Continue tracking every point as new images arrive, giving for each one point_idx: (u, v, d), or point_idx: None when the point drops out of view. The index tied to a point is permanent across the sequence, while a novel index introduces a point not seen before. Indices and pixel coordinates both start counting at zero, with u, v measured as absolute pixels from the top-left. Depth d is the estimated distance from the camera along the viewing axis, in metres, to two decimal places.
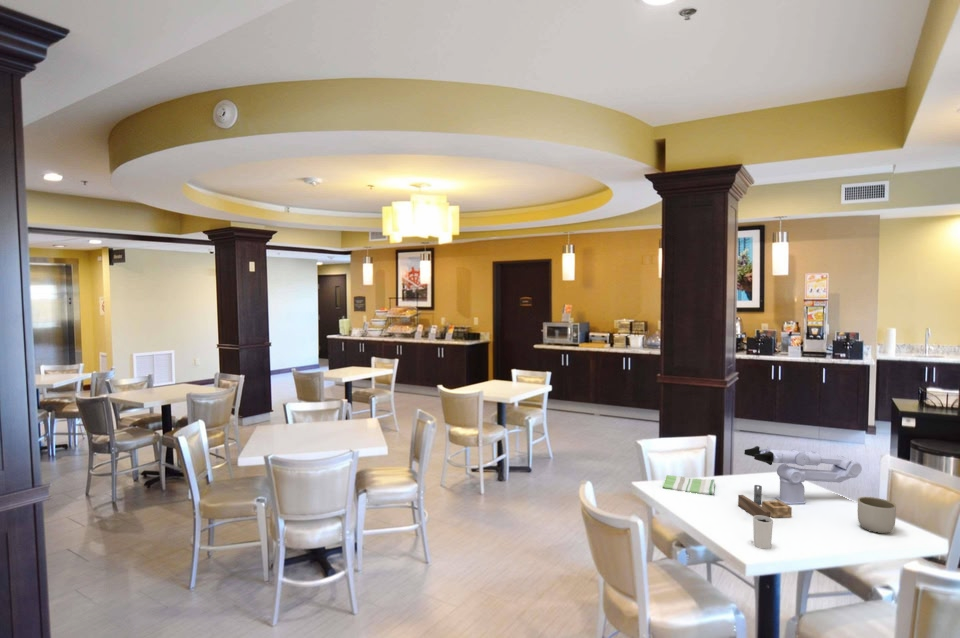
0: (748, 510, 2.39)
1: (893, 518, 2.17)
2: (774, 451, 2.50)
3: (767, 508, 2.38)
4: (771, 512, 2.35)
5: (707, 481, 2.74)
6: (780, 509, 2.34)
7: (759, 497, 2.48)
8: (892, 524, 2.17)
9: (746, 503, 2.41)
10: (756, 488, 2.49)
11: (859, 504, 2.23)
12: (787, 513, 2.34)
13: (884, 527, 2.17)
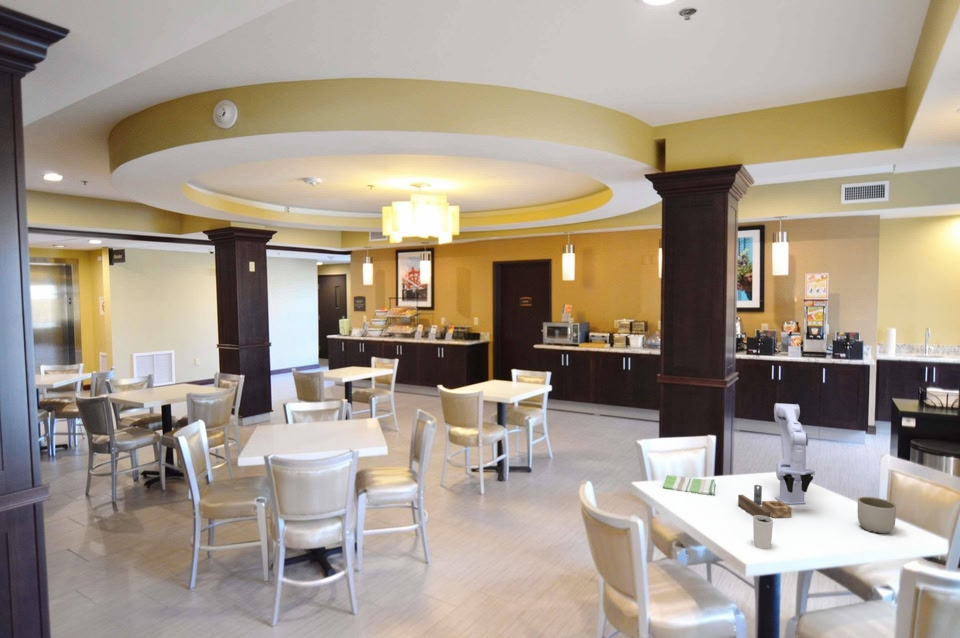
0: (748, 510, 2.39)
1: (893, 518, 2.17)
2: (804, 468, 2.36)
3: (767, 508, 2.38)
4: (771, 512, 2.35)
5: (707, 481, 2.73)
6: (780, 509, 2.34)
7: (759, 497, 2.48)
8: (892, 524, 2.17)
9: (746, 503, 2.41)
10: (756, 488, 2.49)
11: (859, 504, 2.23)
12: (787, 513, 2.34)
13: (884, 527, 2.17)
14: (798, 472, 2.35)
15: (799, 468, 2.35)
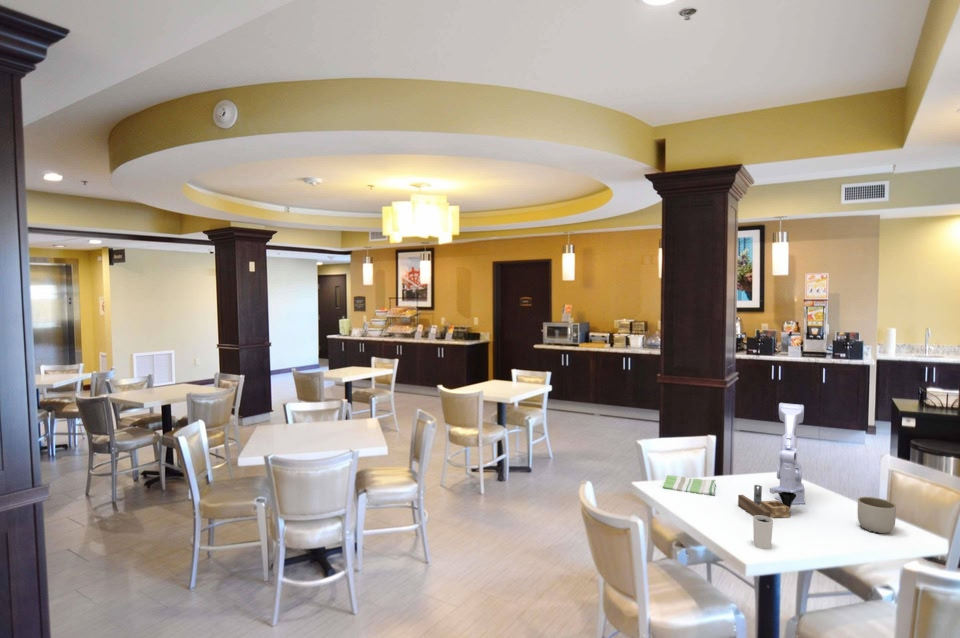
0: (748, 510, 2.39)
1: (893, 518, 2.17)
2: (794, 486, 2.35)
3: (765, 508, 2.37)
4: None
5: (708, 481, 2.73)
6: (778, 509, 2.34)
7: (759, 497, 2.48)
8: (892, 524, 2.17)
9: (746, 503, 2.41)
10: (756, 488, 2.49)
11: (859, 504, 2.23)
12: (785, 513, 2.34)
13: (884, 527, 2.17)
14: (787, 490, 2.35)
15: (788, 486, 2.35)
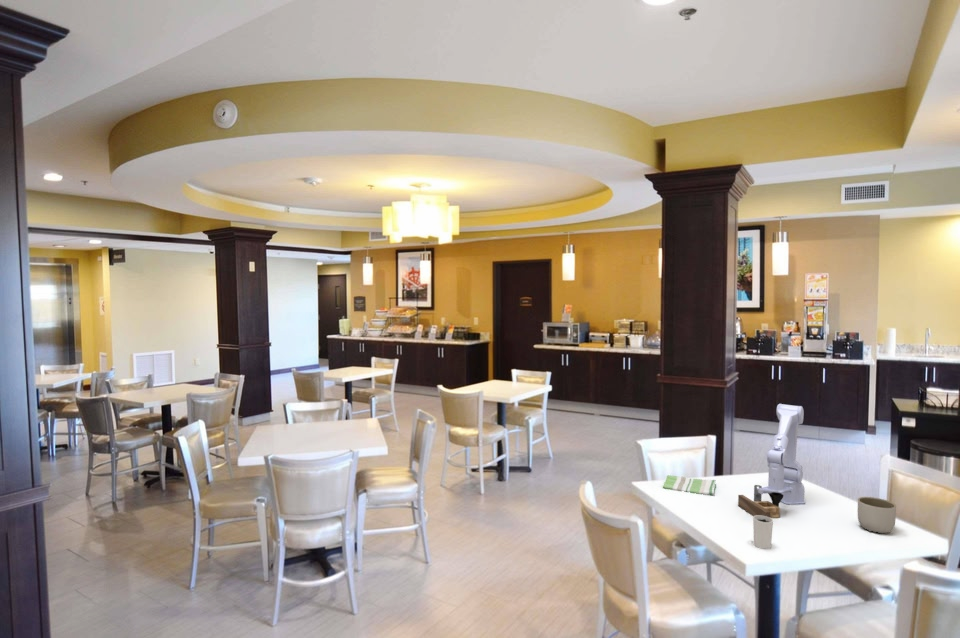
0: (748, 510, 2.39)
1: (893, 518, 2.17)
2: (782, 486, 2.35)
3: None
4: None
5: (708, 481, 2.73)
6: (768, 509, 2.33)
7: (759, 497, 2.48)
8: (892, 524, 2.17)
9: (746, 503, 2.41)
10: (756, 488, 2.49)
11: (859, 504, 2.23)
12: (775, 513, 2.34)
13: (884, 527, 2.17)
14: (776, 490, 2.35)
15: (777, 486, 2.35)
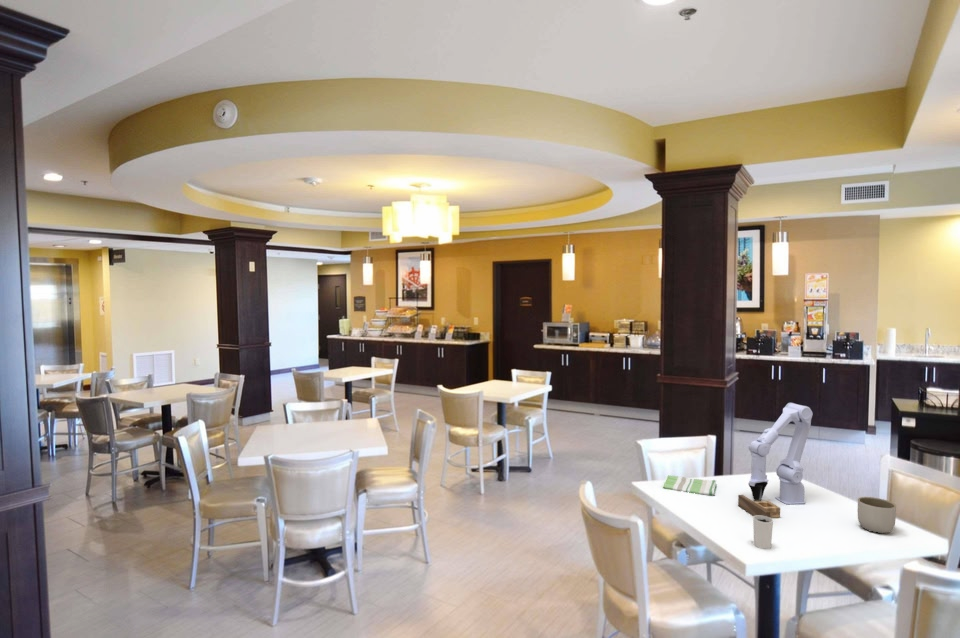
0: (748, 510, 2.39)
1: (893, 518, 2.17)
2: None
3: None
4: None
5: (708, 482, 2.73)
6: (769, 509, 2.33)
7: (759, 497, 2.48)
8: (892, 524, 2.17)
9: (746, 503, 2.41)
10: None
11: (859, 504, 2.23)
12: (776, 513, 2.34)
13: (884, 527, 2.17)
14: (763, 480, 2.46)
15: (763, 476, 2.46)
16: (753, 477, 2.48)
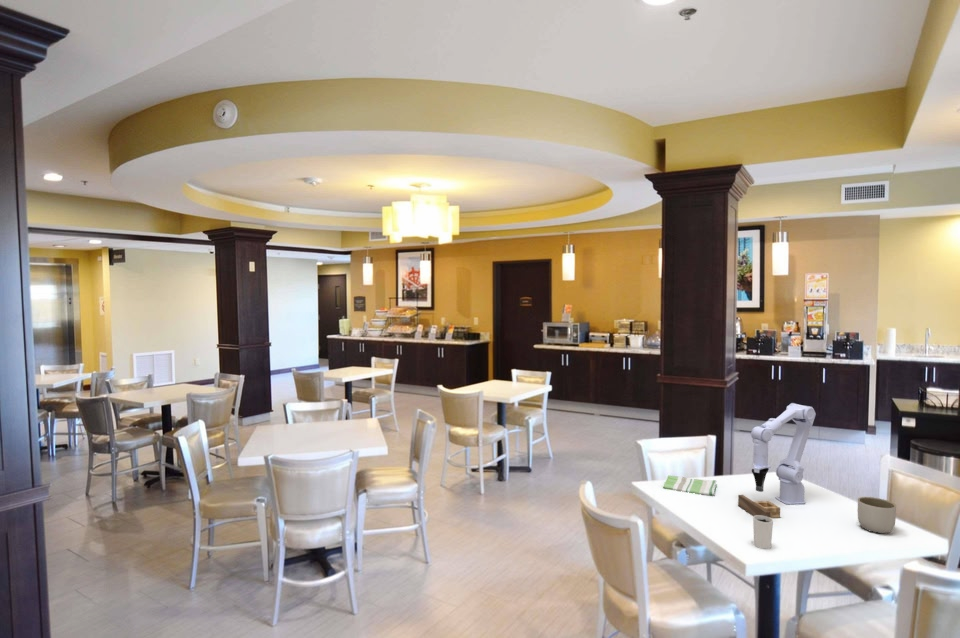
0: (748, 510, 2.39)
1: (893, 518, 2.17)
2: None
3: None
4: None
5: (708, 482, 2.72)
6: (769, 509, 2.33)
7: (762, 483, 2.45)
8: (892, 524, 2.17)
9: (746, 503, 2.41)
10: None
11: (859, 504, 2.23)
12: (776, 513, 2.34)
13: (884, 527, 2.17)
14: (766, 466, 2.43)
15: (766, 462, 2.43)
16: (756, 464, 2.45)
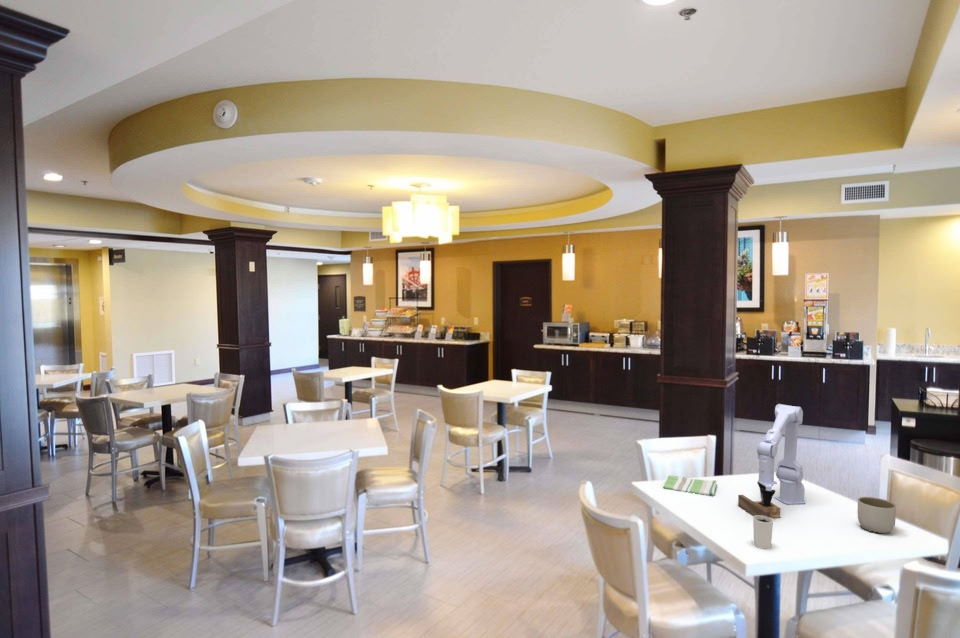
0: (748, 510, 2.39)
1: (893, 518, 2.17)
2: None
3: None
4: None
5: (709, 482, 2.72)
6: (769, 509, 2.33)
7: None
8: (892, 524, 2.17)
9: (746, 503, 2.41)
10: None
11: (859, 504, 2.23)
12: (776, 513, 2.34)
13: (884, 527, 2.17)
14: (773, 482, 2.35)
15: (773, 478, 2.35)
16: (764, 481, 2.35)
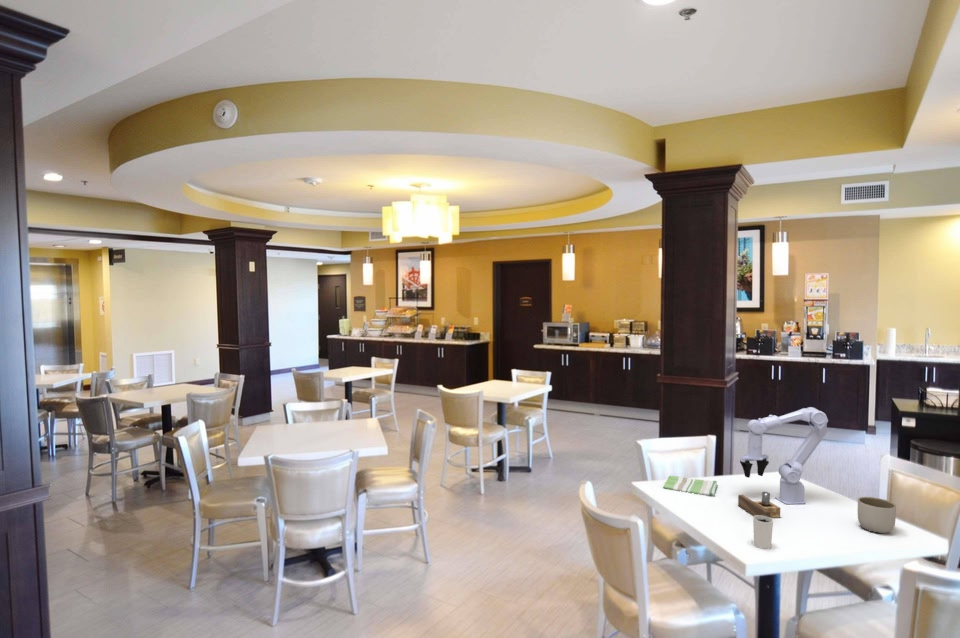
0: (748, 510, 2.39)
1: (893, 518, 2.17)
2: (761, 454, 2.53)
3: None
4: None
5: (709, 482, 2.72)
6: (769, 509, 2.33)
7: (769, 504, 2.36)
8: (892, 524, 2.17)
9: (746, 503, 2.41)
10: (766, 496, 2.36)
11: (859, 504, 2.23)
12: (776, 513, 2.34)
13: (884, 527, 2.17)
14: (756, 458, 2.52)
15: (757, 454, 2.52)
16: (748, 454, 2.55)
